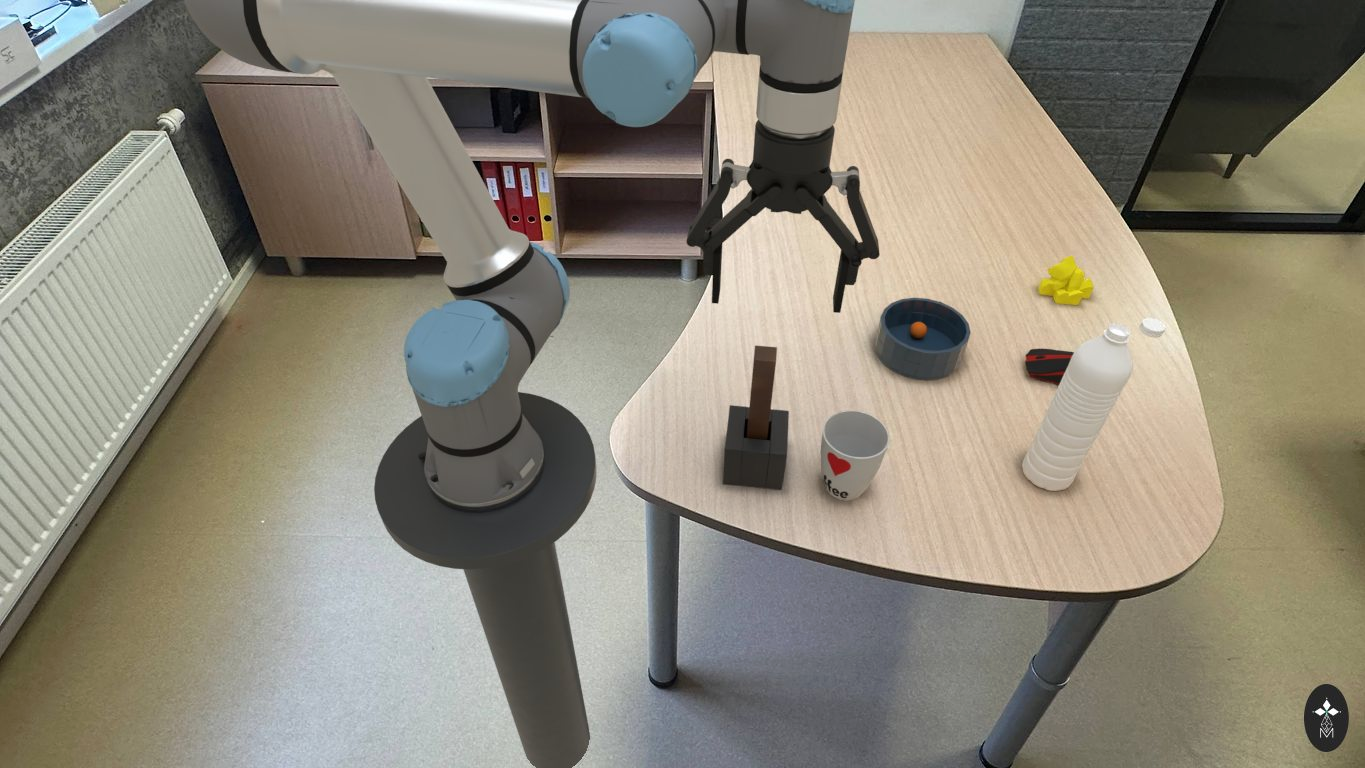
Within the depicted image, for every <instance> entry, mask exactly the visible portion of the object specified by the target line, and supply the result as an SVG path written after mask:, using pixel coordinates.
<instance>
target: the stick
mask: <svg viewBox="0 0 1365 768" xmlns="http://www.w3.org/2000/svg"><path fill="white" fill-rule="evenodd" d="M777 352H778V347H776V346H767V345H754V352H753V362H752V363H753V364H752V373H751V375H752V376H751V383H750V384H751V385H750V395H749V406H748V407H749V417H748V428H747V438H750V439H761V440H767V435H768V427H769V418H770V410H771V409H772V400H773V392H774V382H775V375H776V368H777V367H776V366H777V354H778V353H777Z"/></svg>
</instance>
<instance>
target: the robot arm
mask: <svg viewBox="0 0 1365 768" xmlns="http://www.w3.org/2000/svg"><path fill="white" fill-rule="evenodd" d="M183 1H184V5H185V6H186V9H187V11H188V13H189V16H190V17H191V19H192V20H193V22H194V23H195V25H196V26H197V27H198V29H199V30H200V32H201V33H202V34H203V35H204V36H205V38H207V39H208V40H209V41H210V42H211V43H212V44H213V45H214V46H216V47H217V48H218V49H220V50H221V51H222V52H223V53H225V54H226V55H228V56H230V57H232V58H233V59H236V60H238V61H240V62H242V63H244V64H248V65H250V66H254V67H258V68H261V69H265V70H270V71H276V72H283V73H292V74H300V75H313V74H316V73H318V72H320V71H325V72H326V73H329V74H330V75H332V77H333V79H334V80H335V81H336V83H337V85H338V86H339V88H340V90H341V91H342V93H343V95H344V96H345V98H346V100H347V101H348V103H349V105H350V106H351V108H352V109H353V111H354V113H355V114H356V116H357V117H358V119H359V121H360V122H361V125H362V126H363V127H364V129H365V130H366V132H367V134H368V136H369V137H370V139H371V140H372V142H373V143H374V145H375V147H376V148H377V151H378V152H379V153H380V155H381V157H382V158H383V161H385V163H386V165H387V167H388V168H389V169H390V171H391V173H392V174H393V176H394V178H395V180H396V181H397V183H398V184H399V186H400V187H401V189H402V191H403V192H404V195H405V196H406V197H407V199H408V201H409V202H410V204H411V206H412V207H413V209H414V211H415V212H416V214H417V215H418V217H419V218H420V220H421V222H422V223H423V225H424V227H425V229H426V230H427V231H428V233H429V235H430V236H431V239H432V240H433V241H434V244H435V245H436V246H437V248H438V250H439V251H440V253H441V254H442V256H443V258H444V260H445V261H446V266H445V269H444V272H443V276H442V278H443V281H444V282H445V284H446V286H447V288H448V290H449V292H450V293H451V294H452V296H453V298H454V299H455V300H452V301H448V302H444V303H442V305H441V308H436V307H433V308H431V309H429V310H427V311H426V312H425V313H424V314H422V315H421V316H420V317H418V319H417V320H416V321H415V322H414V323H413V324H412V325H411V327H410V328H409V331H408V332H407V335H406V337H405V340H404V345H403V357H404V363H405V372H406V376H407V380H408V383H409V385H410V387H411V388H412V392H413V394H414V397H415V400H416V404H417V406H418V410H419V412H420V416H422V418H423V421H424V424H425V427H426V430H427V433H428V436H429V438H428V445H427V451H426V452H423V453H420V454H419V455H418V458H419V459H421V460H422V459H425V464H424V471H425V476H426V479H427V482H428V485H429V487H430V490H431V492H432V493H433V495H434V496H435V497H436V498H437V499H438V500H439V501H440V502H441V503H443V504H444V505H446V506H448V507H450V508H452V509H455V510H458V511H462V512H470V513H482V512H490V511H494V510H498V509H502V508H504V507H507V506H509V505H511V504H513V503H515V502H517V501H519V500H520V499H522V498H523V497H524V496H526V495H527V494H528V493H529V492H530V491H531V490H532V489H533V488H534V487H535V486H536V484H537V483H538V481H539V480H540V478H541V476H542V473H543V470H544V466H545V456H544V450H543V445H542V441H541V439H540V437H539V435H538V434H537V432H536V431H535V430H534V429H533V428H532V427H531V425H530V424H529V422H528V421H527V419H526V418H525V417H524V415H523V414H522V411H521V405H520V400H519V395H518V392H519V386H520V383H521V381H522V380H523V379H524V376H525V374H526V373H527V371H528V369H529V368H530V366H531V365H532V364H533V362H534V361H535V360H536V358H537V356H538V355H539V354H540V352H541V350H542V349H543V347H544V346H545V344H546V343H547V341H548V339H549V338H550V336H551V335H552V333H553V332H554V331H555V330H556V329H557V328H558V326H559V325H560V323H561V321H562V319H563V317H564V314H565V311H566V310H567V307H568V305H569V301H570V295H571V288H570V287H571V286H570V282H569V278H568V275H567V272H566V270H565V269H564V266H563V265H562V263H561V262H560V260H559V259H558V258H557V257H556V256H555V255H554V253H552V252H551V251H548V252H547V251H545V250H544V246H542V245H540V244H539V243H536V242H533V241H530V240H529V238H528V235H526V234H524V233H522V232H519V231H516V230H512V229H510V228H509V226H508V225H507V223H506V221H505V218H504V217H503V215H502V213H501V211H500V209H499V207H498V205H497V204H496V202H495V201H494V198H493V197H492V195H491V193H490V191H489V189H488V187H487V185H486V184H485V182H484V181H483V178H482V177H481V175H480V173H479V171H478V169H477V167H476V166H475V164H474V162H473V160H472V158H471V156H470V155H469V152H468V151H467V149H466V147H465V145H464V144H463V141H462V139H461V137H460V136H459V134H458V132H457V131H456V128H455V127H454V124H453V122H452V121H451V120H450V117H449V116H448V114H447V112H446V111H445V108H444V107H443V104H442V103H441V100H439V97H438V96H437V94H436V92H435V90H434V88H433V86H432V84H431V83H430V81H429V79H435V80H436V79H437V80H444V81H452V82H459V83H467V84H476V85H484V86H491V87H492V86H493V87H499V88H507V89H514V90H520V91H521V90H522V91H528V92H529V91H531V92H536V93H537V92H538V93H544V94H545V93H547V94H552V95H553V94H554V95H561V96H569V97H570V96H571V97H578V98H586V99H589V100H590V102H592V104H593V105H594V107H595V108H596V109H597V110H598V111H599V112H600V113H601V114H603V115H605V116H606V117H608V118H609V119H610V120H612V121H614V122H615V123H616V124H618V125H621V126H625V127H631V128H641V127H648V126H650V125H654V124H656V123H658V122H659V121H662V119H664V118H666V116H667V115H668V114H670V112H672V110H674V108H675V107H676V106H677V105H678V104H679V103H681V102H682V101H683V100H684V99H685V98H686V96H687V95H688V94H689V92H690V90H691V88H692V87H693V85H694V82H695V79H696V78H697V76H698V75H699V73H700V72H701V70H702V69H703V67H704V66H705V65H706V64H707V62H708V61H709V60H710V59H711V56H712V55H713V54H714V52H717V53H727V54H736V55H744V56H745V55H746V56H749V55H752V56H753V55H754V56H759V71H758V72H759V73H758V74H759V75H758V83H757V96H756V97H757V98H756V109H755V111H756V112H755V114H756V118H757V120H756V122H755V127H754V139H753V151H752V152H753V155H752V161H751V163H750V165H749V166H745V165H739V164H735V162H734V160H733V159H732V158H724V160H723V161H722V163H721V168H720V174H719V179H718V180H717V181H716V183H715V185H714V186H713V188H712V190H711V191H710V193H709V195H708V196H707V198H706V200H705V201H704V203H703V204H702V206H701V208H700V209H699V211H698V213H697V215H696V216H695V218H694V219H693V221H692V223H691V224H690V226H689V228H688V232H687V236H686V245H687V246H688V247H691V248H692V247H693V248H695V247H698V248H699V249H701V250H702V272H703V275H704V276H712V283H711V284H712V286H711V304H715V305H716V304H717V305H718V304H719V302H720V295H721V286H722V285H721V283H722V265H723V264H722V262H723V261H722V260H723V244H724V243H725V242H726V241H727V240H729V238H730V237H731V236H732V235H734V234H735V233H736V232H737V231H739V229H740V228H741V227H743V225H745V224H746V223H747V222H748V221H749V220H751V218H752V217H756V216H757V215H758V214H760V213H761V212H762V211H764V209H767V210H770V213H783V212H784V213H785V212H788V213H790V214H794V215H801V214H802V213H803V212H806V211H808V212H809V214H810V215H811V216H812V217H813V219H814V220H816V221H818V222H819V224H820V225H821V227H823V229H824V230H825V231H826V233H827V234H828V235H829V236H830V238H831V239H832V240H833V241H834V243H835V244H836V245H837V246H838V247H839V249H840V254H839V260H838V266H837V271H836V277H835V283H834V290H833V294H832V309H833V313H836V314H841V311H842V305H843V300H844V294H845V289H846V286H855V284H856V282H857V278H858V274H859V268H860V267H861V265H862V261H863V260H866V259H870V260H877V259H878V258H879V257H880V244H879V239H878V236H877V234H876V231H875V228H874V226H873V222H872V220H871V217H870V215H869V211H868V209H867V206H866V204H865V201H864V198H863V196H862V193H861V190H860V189H861V188H860V187H861V181H860V169H859V168H858V166H855V165H851V166H848V167H847V169H846V170H843V171H832V170H831V159H832V152H833V144H834V139H835V131H836V130H835V129H836V128H835V126H834V125H835V124H836V122H837V119H838V113H839V105H840V99H841V91H842V83H843V74H844V68H845V62H846V58H847V57H846V56H847V50H848V44H849V37H850V31H851V25H852V19H853V12H854V6H855V3H856V0H183ZM743 181H746V182H747V185H748V186H749V187H750V188H751V189H750V190H749V191H748V192H747V194H746V195H745V197H743V199H741V200H740V201H739V202H738V203H737V204H736V205H735V206H734V207H733V208H732V209H730V210H729V211H728V212H727V213H726V214H725V215H724V216H723V217H722V218H720V219H719V221H718V222H716V223H715V224H714V225H713V226H711V228H710V229H708V228H709V227H710V225H711V223H712V222H713V221H714V219H715V217H716V215H718V212H719V211H720V209H721V208H722V206H723V205H724V203H725V201H726V200H727V198H728V196H729V194H730V191H731V189H735V188H737V187H738V186H740V183H741V182H743ZM832 186H834V187H836V188H837V190H838V193H839V194H841V195H842V196H846V201H847V205H848V208H849V211H850V214H851V216H852V219H853V221H854V224H855V227H856V229H857V232H858V234H859V237H860V239H861V241H860V242H859V240H858V239H857V238H856V236H855V235H854V234H853V233H852V231H851V230H850V229H849V227H848V226H847V225H846V223H845V222H844V221H843V219H842V218H841V217H840V215H838V213H837V212H836V211H835V209H834V208H833V207H832V205H831V204H830V202H829V201H828V199H827V197H826V195H825V194H826V193H827V192H828V191H829V190H830V189H831V187H832Z"/></svg>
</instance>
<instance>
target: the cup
mask: <svg viewBox="0 0 1365 768" xmlns="http://www.w3.org/2000/svg"><path fill="white" fill-rule="evenodd" d="M821 432H822V433H821V442H820V454H819V455H820V468H821V469H820V473H821V477H822V480H823V484H824V488H825V490H826V492H827V493H828V494H829V495H830V496H831V497H832V498H835V499H837V500H839V501H840V500H841V501H846V502H847V501H854V500H856V499H858V498H860V497H861V495H862V494H863V493H864V492H865V491H866V490H867V489H868V488H869V486H870V485H871V483H872V482H873V480H874V479H875V477H876V475H877V474H878V471H879V469H880V468H881V466H882V463H883V460H884V458H885V455H886V452H887V450H888V447H889V444H890V437H891V436H890V433H889V431H888V428H887V426H886V425H885V424H884V423H883V422H882V420H880V419H879V418H878V417H876V416H874V415H872V414H870V413H868V412H864V411H861V410H853V409H852V410H851V409H847V410H846V409H845V410H841V411H840V410H839V411H837V412H835V413H833V414H831V415H830V416H829V417H827V418H826V420H825V422H824V424H823V426H822V431H821Z"/></svg>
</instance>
